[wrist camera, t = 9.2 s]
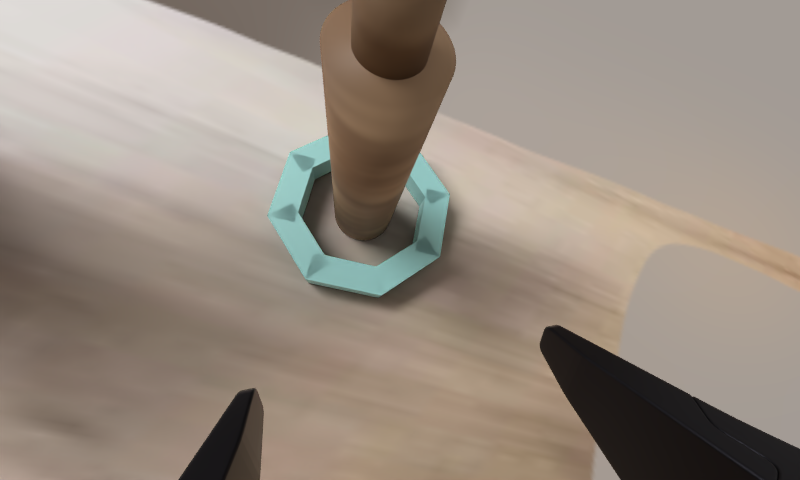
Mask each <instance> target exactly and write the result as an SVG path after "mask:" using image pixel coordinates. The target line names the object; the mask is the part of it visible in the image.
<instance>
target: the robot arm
mask: <svg viewBox="0 0 800 480" xmlns="http://www.w3.org/2000/svg"><path fill="white" fill-rule="evenodd" d="M540 349H541V352H542V354H543V356H544V357H545V359H546V361H547V363H548V365H549V367H550V369H551V370H552V372H553V374H554V376H555V378H556V380H557V382H558V383H559V385H560V387H561V389H562V391H563V392H564V394H565V396H566V397H567V399H568V400H569V402H570V404H571V405H572V407H573V408H574V410H575V411H576V413H577V414H578V416H579V417H580V419H581V420H582V422H583V423H584V425H585V426H586V428H587V429H588V431H589V432H590V434H591V435H592V437H593V438H594V440H595V442H596V443H597V445H598V446H599V448H600V449H601V451H602V452H603V454H604V455H605V457H606V458H607V460H608V461H609V463H610V464H611V466H612V467H613V469H614V470H615V472H616V473H617V475H618V476H619V478H620V479H621V480H800V449H799V448H797V447H795V446H793V445H790V444H788V443H786V442H784V441H782V440H780V439H777V438H776V437H773V436H771V435H769V434H767V433H765V432H763V431H761V430H759V429H757V428H755V427H753V426H750V425H748V424H746V423H744V422H742V421H740V420H738V419H736V418H734V417H732V416H730V415H728V414H726V413H724V412H722V411H721V410H719V409H717V408H715V407H713V406H711V405H709V404H707V403H705V402H703V401H701V400H699V399H698V398H696V397H692V396H691V395H690V394H688V393H686V392H684V391H682V390H680V389H678V388H677V387H674V386H673V385H671V384H669V383H667V382H665V381H663V380H661V379H660V378H658V377H656V376H654V375H652V374H650V373H648V372H646V371H644V370H642V369H640V368H639V367H637V366H635V365H633V364H631V363H629V362H628V361H625V360H623V359H622V358H620V357H618V356H616V355H614V354H612V353H610V352H609V351H607V350H605V349H603V348H601V347H599V346H597V345H595V344H593V343H592V342H590V341H588V340H586V339H584V338H582V337H580V336H578V335H576V334H575V333H573V332H571V331H569V330H567V329H565V328H563V327H561V326H559V325H553V326H548V327H546V328H545V329H544V332H543V335H542V338H541V341H540ZM263 416H264V411H263V405H262V402H261V399H260V397H259V394H258V391H257V390H256V389H255V388H252V389H247V390H242V391H240V392H238V393H237V395H236V396H235V398H234V399H233V400H232V402H231V403H230V405H229V406H228V408H227V409H226V411H225V412H224V414H223V415H222V417H221V418H220V420H219V421H218V423H217V424H216V425H215V427H214V428H213V430H212V431H211V433H210V434H209V436H208V437H207V439H206V440H205V442H204V443H203V445H202V446H201V448H200V449H199V450H198V452H197V453H196V455H195V456H194V458H193V459H192V461H191V462H190V464H189V465H188V467H187V468H186V470H185V471H184V472H183V474H182V475H181V477H180V478H179V480H260V470H261V453H262V434H263Z"/></svg>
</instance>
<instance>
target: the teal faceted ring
mask: <svg viewBox="0 0 800 480" xmlns="http://www.w3.org/2000/svg"><path fill="white" fill-rule="evenodd" d="M329 172H331V162H330V151H329V140H328V136H325V137H323V138H321V139H318V140H316V141H314V142H312V143H309V144H307V145H305V146H303V147H300V148H298V149H296V150H294V151H291V152H290V153H289V156H288V159H287V162H286V165H285V167H284V170H283V173H282V176H281V179H280V181H279V184H278V187H277V190H276V193H275V195H274V198H273V201H272V204H271V207H270V209H269V212H268V215H267V216H268V218H269V219H270V221H271V223H272V224H273V226H274V228H275V229H276V231H277V233H278V234H279V236H280V238H281V239H282V241H283V243H284V244H285V246H286V248H287V249H288V251H289V253H290V254H291V256H292V258H293V259H294V261H295V263H296V264H297V266H298V268H299V269H300V271H301V273H302V274H303V276H304V278H305V279H306V280H307V281H308V283H312V284H317V285H321V286H326V287H330V288H335V289H340V290H344V291H349V292H354V293H358V294H363V295H367V296H372V297H377V298H379V297H380V296H382V295H383V294H385V293H386V292H388V291H389V290H391V289H392V288H394V287H395V286H397V285H398V284H400V283H401V282H403V281H404V280H406V279H408V278H409V277H411V276H412V275H414V274H415V273H417V272H418V271H420V270H421V269H423V268H424V267H426V266H427V265H429V264H430V263H432V262H433V261H435V260H436V259H437V258H439V257H440V253H441V247H442V240H443V234H444V228H445V221H446V215H447V208H448V202H449V196H450V194H449V193H448V191H447V190H446V188H445V187H444V186H443V184H442V183H441V181H440V180H439V179H438V177H437V176H436V174H435V173H434V171H433V170H432V169H431V167H430V166H429V164H428V163H427V162H426V160H425V159H424V157H423V156H422V155H421V153H419V155H418V158H417V160H416V162H415V165H414V167H413V169H412V171H411V174H410V176H409V178H408V181H407V183H406V185H405V186H406V187H407V189H408V190H409V192H410V193H411V195H412V196H413V197H414V199H415V200H416V202H417V203H418V205H419V206H420V207H419V212H418V217H417V223H416V228H415V233H414V239H413V244H412V245H410V246H408V247H407V248H405V249H404V250H402V251H400V252H399V253H397V254H396V255H394V256H392V257H391V258H389V259H388V260H386V261H384V262H383V263H381V264H379V265H378V266H376V267H375V266H371V265H366V264H362V263H358V262H353V261H349V260H345V259H340V258H336V257H331V256H327V255H324V253H323V252H322V250H321V248H320V247H319V245H318V244H317V242H316V240H315V239H314V237H313V235H312V234H311V232H310V231H309V229H308V227H307V226H306V224H305V223H304V221H303V219H302V218H303V215H304V212H305V209H306V206H307V202H308V199H309V196H310V193H311V190H312V187H313V183H314V180H315V179H317V178H319V177H321V176H323V175H325V174H327V173H329Z"/></svg>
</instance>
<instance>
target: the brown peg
mask: <svg viewBox="0 0 800 480" xmlns="http://www.w3.org/2000/svg"><path fill="white" fill-rule="evenodd" d="M446 1H447V0H349V1H346V2H345V3H343V4H341V5H339V6H338V7H337V8H335V9H334V10H333V11H332V12H331V13H330V14H329V15H328V17H327V18H326V20H325V22H324V24H323V26H322V29H321V33H320V50H321V60H322V72H323V84H324V95H325V106H326V117H327V129H328V140H329V151H330V162H331V174H332V185H333V196H334V207H335V218H336V222H337V224H338V226H339V228H340V229H341V230H342V231H343V232H344V233H345V234H346V235H348V236H349V237H351V238H354V239H357V240H370V239H373V238H376V237H378V236H379V235H381V234H382V233H383V232H384V231H385V230H386V228H387V226H388V224H389V222H390V220H391V217H392V215H393V213H394V211H395V208H396V206H397V204H398V201H399V199H400V197H401V194H402V192H403V190H404V188H405V185H406V183H407V181H408V178H409V176H410V174H411V171H412V169H413V167H414V165H415V162H416V160H417V158H418V155H419V153H420V151H421V149H422V146H423V144H424V142H425V139H426V137H427V135H428V132H429V130H430V128H431V126H432V123H433V121H434V119H435V116H436V114H437V112H438V109H439V107H440V105H441V102H442V100H443V98H444V95H445V93H446V91H447V89H448V87H449V84H450V82H451V80H452V77H453V75H454V71H455V66H456V55H455V50H454V47H453V44H452V41H451V39H450V37H449V35H448V34H447V32H446V31H445V29H444V28H443V27H442V26H441V24H440V20H441V16H442V13H443V10H444V7H445V4H446Z"/></svg>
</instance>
